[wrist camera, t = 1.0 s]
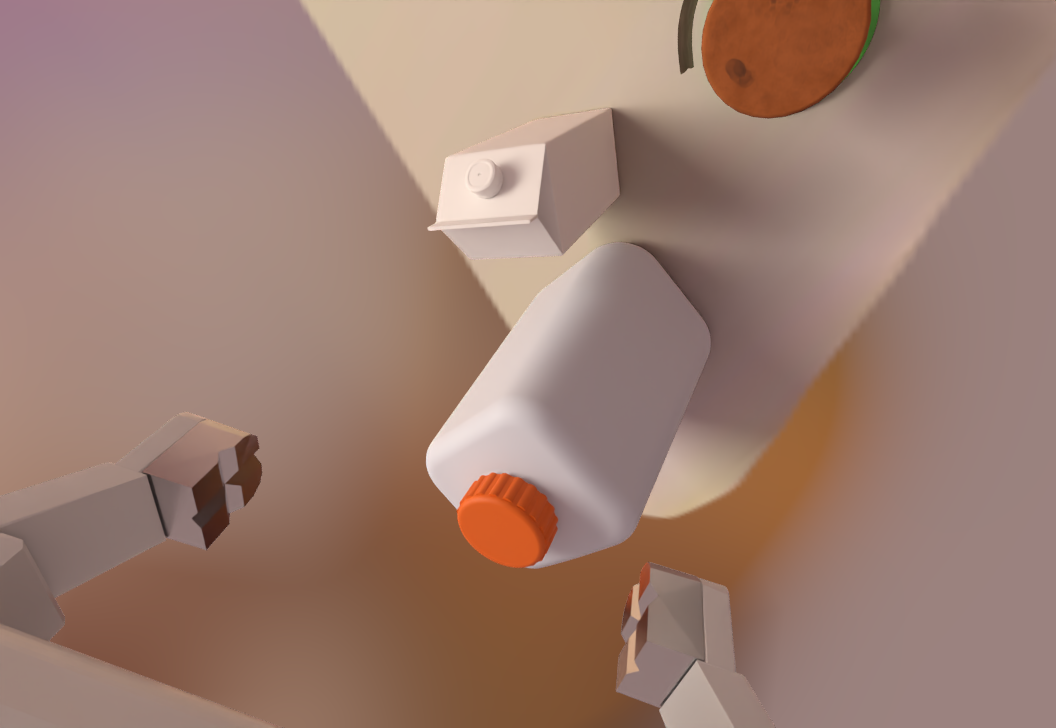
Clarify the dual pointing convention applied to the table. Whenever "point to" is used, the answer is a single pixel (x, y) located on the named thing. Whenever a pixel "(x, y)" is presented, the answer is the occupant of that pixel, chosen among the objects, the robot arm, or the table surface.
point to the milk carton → (530, 187)
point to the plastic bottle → (573, 413)
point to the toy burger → (778, 50)
